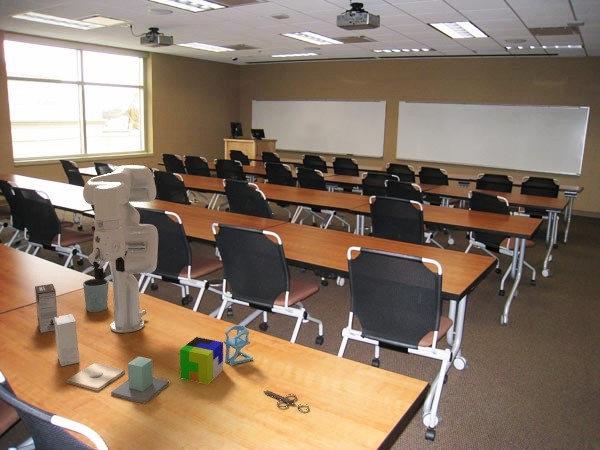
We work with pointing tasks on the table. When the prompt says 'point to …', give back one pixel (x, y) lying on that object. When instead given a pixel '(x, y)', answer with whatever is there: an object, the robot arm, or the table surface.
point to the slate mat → (138, 395)
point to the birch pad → (95, 376)
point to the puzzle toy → (201, 360)
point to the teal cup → (96, 294)
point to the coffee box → (46, 307)
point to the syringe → (281, 398)
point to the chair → (237, 344)
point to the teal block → (140, 373)
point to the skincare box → (66, 339)
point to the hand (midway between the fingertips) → (110, 275)
